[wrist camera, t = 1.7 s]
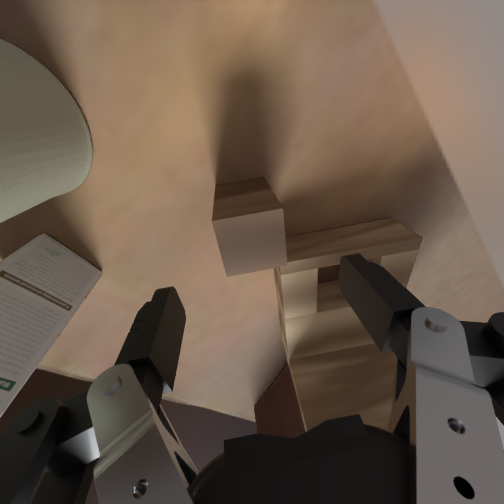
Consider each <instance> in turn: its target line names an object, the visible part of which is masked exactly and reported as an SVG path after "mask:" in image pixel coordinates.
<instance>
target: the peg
mask: <svg viewBox="0 0 504 504" xmlns="http://www.w3.org/2000/svg"><path fill="white" fill-rule="evenodd" d="M212 223H213V227H214V230H215V234H216V238H217V242H218V245H219V249H220V253H221V256H222V260H223V264H224V268H225V271H226V275H227V277H228V276H234V275H239V274H245V273H250V272H255V271H261V270H266V269H271V268H277V267H282V266H287V254H286V240H285V225H284V211H283V207H282V205H281V204H280V202H279V201H278V199H277V198H276V196H275V194H274V193H273V191H272V190H271V188H270V187H269V185H268V183H267V182H266V180H265V179H264V177H262V178H256V179H250V180H245V181H239V182H234V183H228V184H222V185H217V186H215V196H214V206H213V216H212Z"/></svg>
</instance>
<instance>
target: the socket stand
mask: <svg viewBox="0 0 504 504" xmlns="http://www.w3.org/2000/svg"><path fill="white" fill-rule="evenodd" d="M422 238H423V237H421V236H419V235H418V234H416V233H415V232H413V231H411V230H410V229H408V228H407V227H405V226H403V225H402V224H400V223H399V222H397V221H395V220H394V219H392V218H388V219H382V220H377V221H372V222H366V223H361V224H355V225H350V226H344V227H339V228H333V229H328V230H323V231H317V232H312V233H306V234H301V235H295V236H290V237H285V240H286V254H287V266H282V267H277V268H274V274H275V283H276V292H277V300H278V309H279V318H280V327H281V336H282V342H283V346H284V350H285V354H286V358H287V361H288V365H289V369H290V373H291V377H292V381H293V384H294V388H295V392H296V396H297V400H298V404H299V407H300V411H301V415H302V419H303V423H304V427H305V430H306V432H307V431H309V430H310V429H312V428H314V427H315V426H317V425H319V424H321V423H322V422H324V421H326V420H330V419H335V418H340V417H345V416H350V415H355V414H360V416H361V418H362V421H363V423H364V424H367V425H371V426H375V427H379V428H381V429H384V430H386V431H388V425H389V419H390V415H391V410H392V401H393V387H394V372H395V360H396V357H397V356H396V355H395V354H394V352H393V351H389V352H384V353H382V352H381V351H380V349H379V348H378V346H377V345H376V344H375V342H374V341H373V339H372V338H371V336H370V335H369V333H368V332H367V330H366V329H365V327H364V326H363V324H362V323H361V321H360V320H359V318H358V317H357V315H356V314H355V312H354V311H353V309H352V308H351V306H350V305H349V303H348V302H347V300H346V299H345V298H344V296H343V295H342V293H341V291H340V288H339V283H338V280H334V281H328V282H323V283H318V284H317V281H318V268H322V267H328V266H333V265H338V264H340V259H341V257H342V256H345V255H350V254H356V253H359V254H361V255H362V256H363V257H364V258H365V259H366V260H367V261H368V262H374V263H376V264H378V265H380V266H382V267H384V268H385V269H386V270H387V271H388V272H389V273H390V274H391V276H393V277H394V278H396V279H397V280H398V282H400V283H401V284H402V285H403V286H404V287H405V288H406V287H407V284H408V281H409V278H410V274H411V271H412V268H413V265H414V262H415V259H416V256H417V253H418V250H419V247H420V244H421V241H422Z"/></svg>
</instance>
